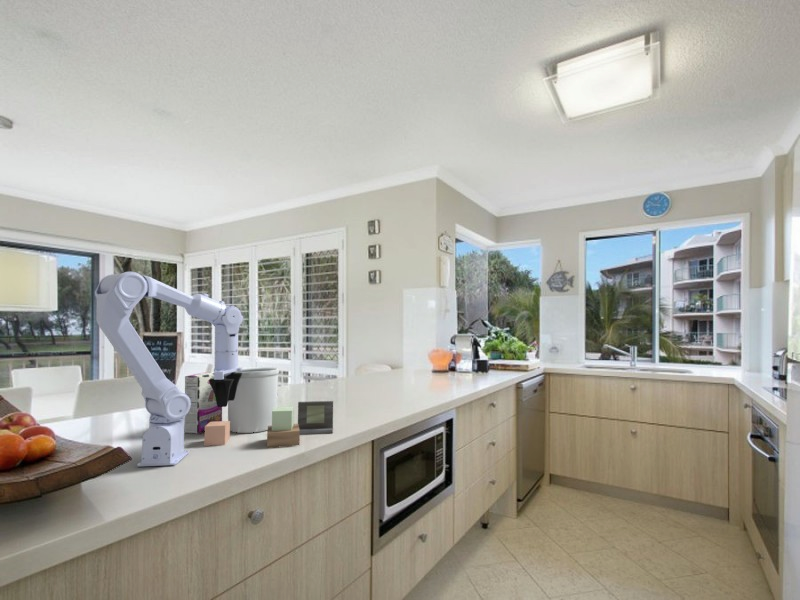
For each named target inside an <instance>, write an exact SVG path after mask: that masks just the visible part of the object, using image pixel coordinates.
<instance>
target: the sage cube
mask: <svg viewBox="0 0 800 600" xmlns="http://www.w3.org/2000/svg"><path fill="white" fill-rule="evenodd" d="M294 414H295V407H294V406H277V407H275V408H274V409H273V411H272V431H282V430H292V428H293V425H294V424H295V423H294V421H295V420H294V418H295V417H294Z"/></svg>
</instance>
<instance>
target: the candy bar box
mask: <svg viewBox="0 0 800 600" xmlns="http://www.w3.org/2000/svg"><path fill="white" fill-rule="evenodd" d="M213 378H214V370H212V371H205V372H201V373H194V374H191V375H189V374H188V375H186V376H184V393H185V394H186V395H187V396H188V397H189V398H190V401H191V407H190V410H189V412H188V413H187V414H186V416H185V426H184V434H188V433H192V434H193V435H194V434H195V435H199V434H202V433H205V432H204V431H205V426H206V425H207V424H208V423H210V422H219V421H223V407H218V406H217V403H216V398H215V394H214V391H213V389H212V387H211V385H210V384H209V379H213Z"/></svg>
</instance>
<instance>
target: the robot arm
mask: <svg viewBox="0 0 800 600" xmlns="http://www.w3.org/2000/svg"><path fill="white" fill-rule="evenodd" d="M94 296H95V299H96V311H95V312H96V316H95V317H96V319H95V320H96V323H97V326H98V327H99V328H100V330H101V331H102V333H103V334H104V336H105V337H106V339H107V340H108V341H109V343H110V344H111V346H112V347H113V349H114V350H115V352H116V353H117V355H118V356H119V357H120V358H121V360H122V361H123V363H124V365H125V366H126V367H127V369H128V371H130V373H131V375H132V376H133V377H134V379H135V380H136V382H137V383H138V384H139V386H140V388H141V396H142V398H143V400H144V405H145V409H146V411H147V412H148V413H149V414H150V415H149V421H148V423H149V424H148V428H147V430H146V431H144V433H143V436H142V441H141V442H142V443H141V444H142V445H141V461H140V462H138V463H137V464H136V467H157V466H159V467H160V466H175V465H177V464H178V463H180V462H181V460H182V459H183V458H185V457H186V456H187V455H188V454H190V453H191V450H190V449H185V448H184V447H185V433H184V426H185V416H186V414H187V413H188V412H189V410H190V407H191V401H190V398H189V397H188V396H187V395H186V394H185V392H182V391H181V390H180V388H178V386H177V385H176V384H174V382H172V381H171V380H170V379H168V378H167V377H166V375H165V373H164V372H163V370H162V369H161V366H159V364H158V363H157V361H156V360H155V358H154V356H153V355H152V354H151V352H150V350H149V349H148V347H147V345H145V343H144V341H143V340H142V338H141V337H140V335H139V334H138V332H137V330H136V329H135V327H134V326H133V325H132V323H131V321H130V317H131V315H132V312H133V310H134V308H135V307H136V305H138V303H139V302H140V301H141V300H142V299H143V298H154V299H157V300H160V301H163V302H166V303H169V304H172V305H176V306H179V307H181V308H184V310H185V311H186V313H187V315H189V316H191V317H194V318H197V319H199V320H202V321H205V322H208V323H210V324H211V325H213V327H214V367H213V371H214V378H213V379H209V384H210V385H211V387H212V389H213V391H214V394H215V398H216V403H217V406H218V407H222V408H223V407H224V408H225V407H228V401H233V400H234V399H235V395H236V390H237V386H238V383H239V380H240V378H241V376H242V373H235V372H237V371H242V370H243V368H244V367H242V366H240V367H239V332H240V326H241V325H242V323H243V321H244V316H243V314H242V312H241V310H240V309H239V308H238V307H237V306H235V305H226V302H225V301H223V300H219V301H218V300H216V299H214V298H211V297H210V295H209V294H208V293H205V292H202V293H195V294H193V295H190V294H188V293H186V292H184V291H181V290H179V289H177V288H175V287H173V286H170V285H168V284H167V283H164V282H161V281H159V280H157V279H154V278H153V277H151V276H147V275H141V274H140V273H138V272H135V271H125V272H122V273H117V274H116V273H112V274H108V275H106V276H104V277H103V278H101V280H100V282H99V283H98V285H97V287H96V289H95V291H94Z"/></svg>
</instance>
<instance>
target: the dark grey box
mask: <svg viewBox="0 0 800 600" xmlns="http://www.w3.org/2000/svg"><path fill="white" fill-rule="evenodd" d="M333 418H334V400H324V401H323V400H321V401H320V400H318V401H317V400H316V401H298V403H297V424H298V425H299V430H300V435H323V434H325V435H326V434H333V433H334V419H333Z"/></svg>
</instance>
